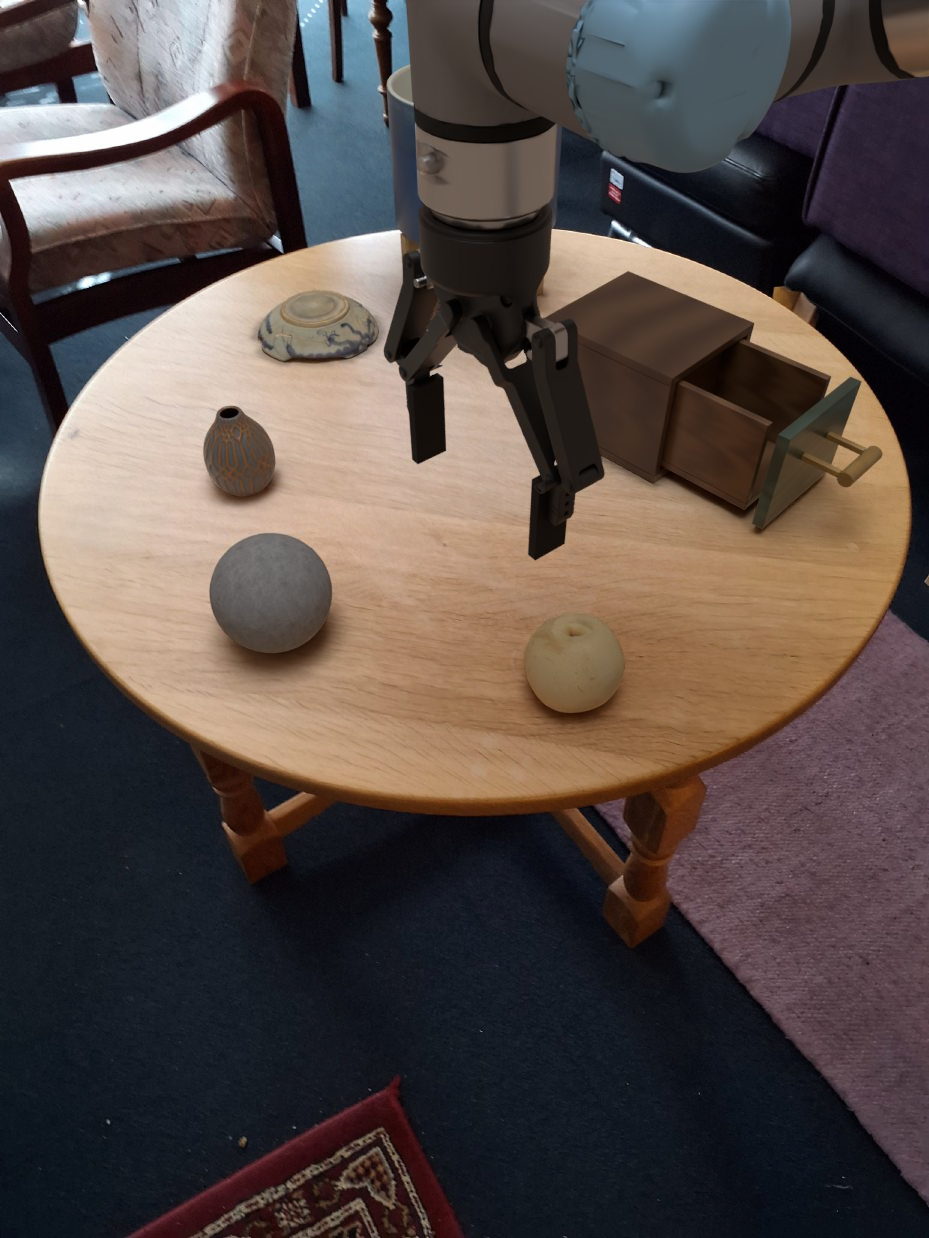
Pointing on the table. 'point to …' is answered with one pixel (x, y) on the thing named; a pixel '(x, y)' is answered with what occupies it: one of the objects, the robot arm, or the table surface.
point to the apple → (574, 662)
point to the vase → (238, 453)
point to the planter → (406, 161)
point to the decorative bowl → (317, 327)
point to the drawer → (760, 429)
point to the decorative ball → (270, 592)
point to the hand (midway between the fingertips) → (484, 500)
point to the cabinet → (642, 361)
